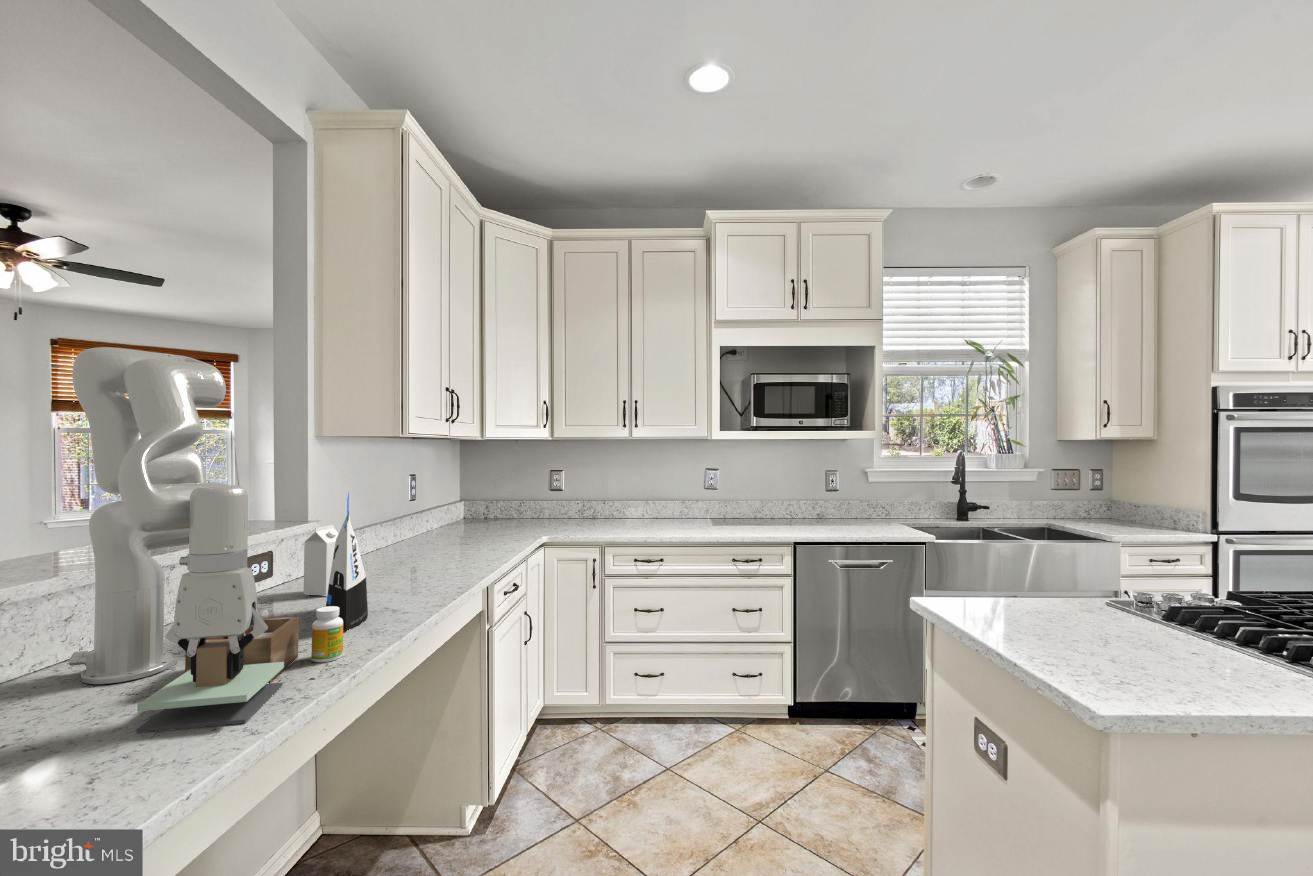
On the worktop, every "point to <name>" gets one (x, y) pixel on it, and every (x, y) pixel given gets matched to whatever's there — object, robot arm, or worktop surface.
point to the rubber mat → (209, 713)
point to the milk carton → (319, 560)
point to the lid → (212, 681)
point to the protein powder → (348, 578)
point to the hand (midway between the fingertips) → (217, 676)
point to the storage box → (269, 644)
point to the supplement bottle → (327, 635)
